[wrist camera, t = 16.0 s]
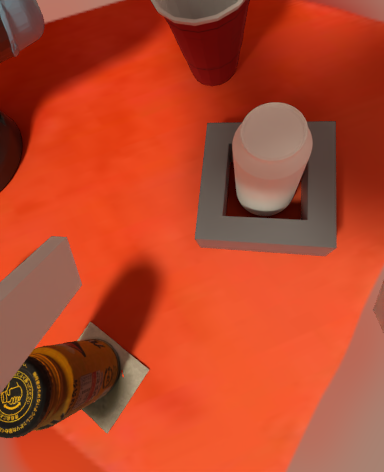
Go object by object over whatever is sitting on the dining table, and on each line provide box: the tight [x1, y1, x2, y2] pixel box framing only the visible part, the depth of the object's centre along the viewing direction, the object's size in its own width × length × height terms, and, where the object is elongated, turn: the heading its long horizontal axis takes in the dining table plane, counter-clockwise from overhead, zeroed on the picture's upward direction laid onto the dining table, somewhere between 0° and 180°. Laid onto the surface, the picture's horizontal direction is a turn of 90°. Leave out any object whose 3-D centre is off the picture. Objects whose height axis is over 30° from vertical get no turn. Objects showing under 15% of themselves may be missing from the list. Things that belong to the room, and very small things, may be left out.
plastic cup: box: [151, 0, 250, 86], centre depth 33 cm, size 11×11×12 cm
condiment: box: [0, 322, 149, 438], centre depth 26 cm, size 7×8×12 cm
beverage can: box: [232, 102, 313, 216], centre depth 28 cm, size 6×6×12 cm
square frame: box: [195, 121, 336, 256], centre depth 31 cm, size 13×13×4 cm
